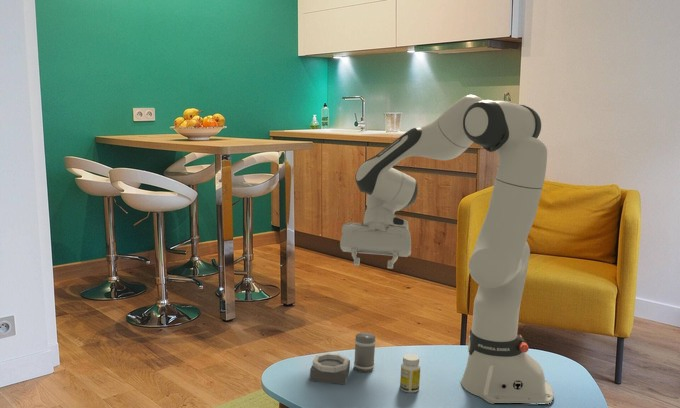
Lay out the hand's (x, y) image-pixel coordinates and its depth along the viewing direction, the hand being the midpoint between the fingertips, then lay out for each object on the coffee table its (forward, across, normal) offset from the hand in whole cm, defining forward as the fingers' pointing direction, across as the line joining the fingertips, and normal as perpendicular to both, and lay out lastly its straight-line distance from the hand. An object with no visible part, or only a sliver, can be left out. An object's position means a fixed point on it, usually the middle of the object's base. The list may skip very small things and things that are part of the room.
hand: (373, 266), depth 175 cm
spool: (+26, 0, +9) cm, 28 cm away
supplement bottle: (+33, +13, +2) cm, 35 cm away
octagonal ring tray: (+31, -8, +4) cm, 32 cm away
